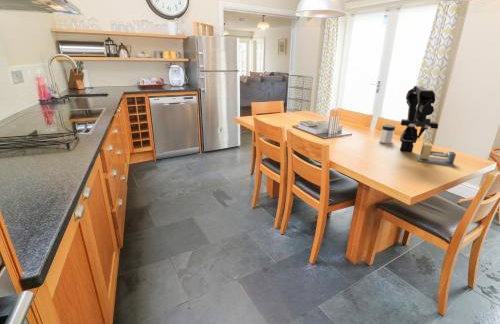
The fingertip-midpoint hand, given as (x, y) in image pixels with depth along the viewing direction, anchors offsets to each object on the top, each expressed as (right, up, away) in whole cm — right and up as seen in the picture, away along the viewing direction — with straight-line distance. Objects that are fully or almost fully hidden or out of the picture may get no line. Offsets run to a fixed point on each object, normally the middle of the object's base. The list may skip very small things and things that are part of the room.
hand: (415, 137), depth 166 cm
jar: (0, 0, +36) cm, 36 cm away
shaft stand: (+11, -14, 0) cm, 18 cm away
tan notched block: (+6, -12, +1) cm, 13 cm away
